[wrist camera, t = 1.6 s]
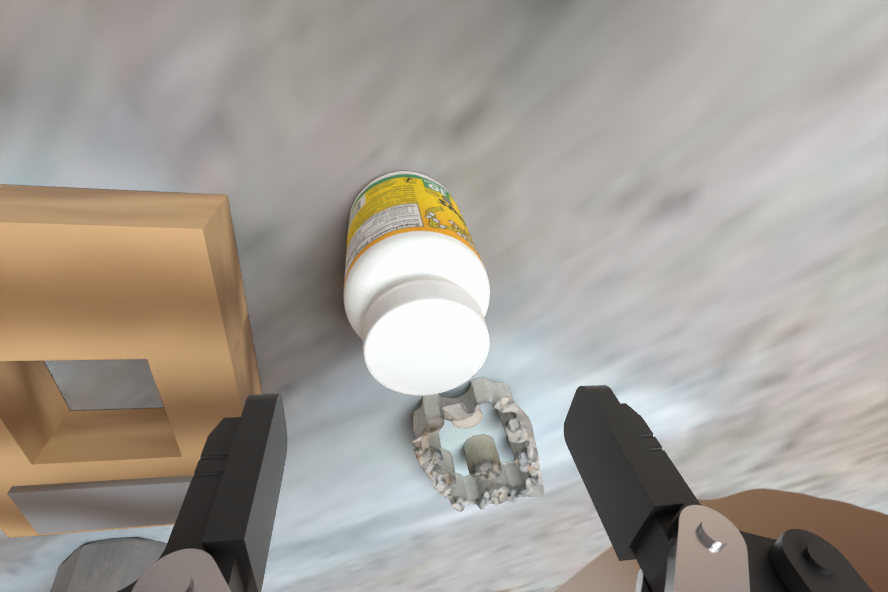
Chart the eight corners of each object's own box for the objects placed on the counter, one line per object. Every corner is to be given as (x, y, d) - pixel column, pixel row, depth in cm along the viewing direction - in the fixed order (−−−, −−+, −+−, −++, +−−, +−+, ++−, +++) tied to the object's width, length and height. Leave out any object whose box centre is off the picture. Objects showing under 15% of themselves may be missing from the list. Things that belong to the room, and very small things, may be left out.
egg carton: (402, 393, 28) (406, 445, 25) (512, 362, 28) (531, 410, 25) (441, 481, 34) (449, 533, 31) (532, 456, 34) (550, 505, 31)
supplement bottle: (329, 193, 20) (304, 317, 12) (438, 150, 20) (485, 250, 12) (377, 283, 23) (382, 429, 15) (472, 248, 23) (527, 379, 15)
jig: (-160, 176, 17) (-284, 218, 14) (227, 195, 19) (199, 233, 16) (45, 482, 28) (3, 544, 25) (275, 468, 30) (264, 524, 27)
